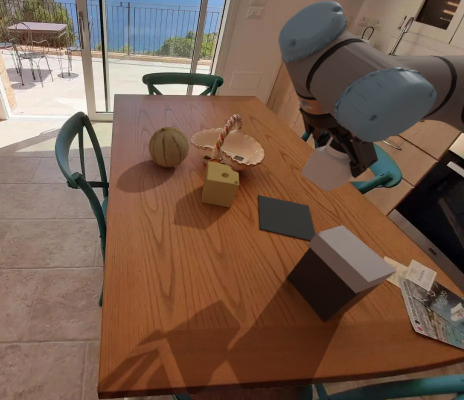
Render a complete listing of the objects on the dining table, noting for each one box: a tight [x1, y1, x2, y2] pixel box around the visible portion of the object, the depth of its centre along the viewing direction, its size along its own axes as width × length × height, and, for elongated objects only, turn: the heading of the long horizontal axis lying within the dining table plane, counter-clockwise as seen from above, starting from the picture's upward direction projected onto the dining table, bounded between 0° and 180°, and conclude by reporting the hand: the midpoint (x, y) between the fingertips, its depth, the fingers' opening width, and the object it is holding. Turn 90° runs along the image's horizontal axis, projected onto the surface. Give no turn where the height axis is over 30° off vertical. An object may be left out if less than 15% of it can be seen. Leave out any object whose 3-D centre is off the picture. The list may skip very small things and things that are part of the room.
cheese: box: [200, 160, 240, 209], centre depth 87 cm, size 10×11×10 cm
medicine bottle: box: [300, 135, 353, 193], centre depth 58 cm, size 7×7×12 cm
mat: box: [257, 194, 316, 242], centre depth 84 cm, size 16×16×1 cm
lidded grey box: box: [286, 224, 398, 323], centre depth 59 cm, size 8×12×18 cm, turn 20°
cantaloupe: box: [148, 126, 190, 168], centre depth 98 cm, size 15×15×15 cm
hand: (342, 162), depth 60 cm, fingers closed on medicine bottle, 8 cm apart
